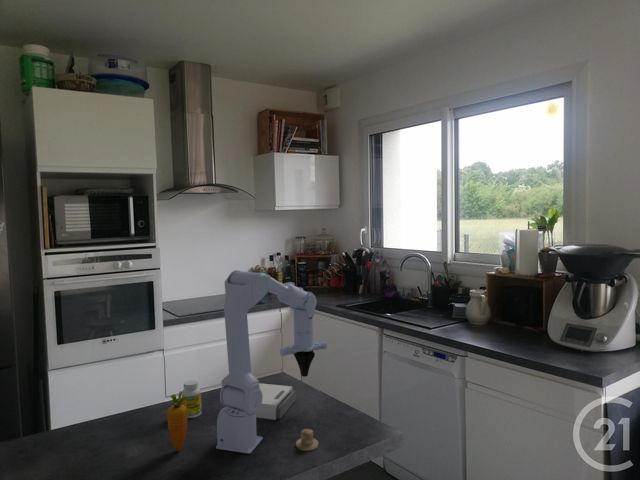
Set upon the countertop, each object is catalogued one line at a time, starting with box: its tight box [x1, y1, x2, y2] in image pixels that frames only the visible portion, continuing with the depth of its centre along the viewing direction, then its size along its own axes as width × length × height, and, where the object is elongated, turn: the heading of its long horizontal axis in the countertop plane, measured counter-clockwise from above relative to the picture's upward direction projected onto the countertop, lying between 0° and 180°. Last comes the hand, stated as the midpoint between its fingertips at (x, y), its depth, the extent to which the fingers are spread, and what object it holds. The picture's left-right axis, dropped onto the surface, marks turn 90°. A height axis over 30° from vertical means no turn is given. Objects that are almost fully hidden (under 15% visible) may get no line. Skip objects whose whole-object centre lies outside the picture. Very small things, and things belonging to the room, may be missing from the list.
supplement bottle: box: [181, 379, 203, 419], centre depth 138 cm, size 5×5×10 cm
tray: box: [277, 389, 297, 420], centre depth 142 cm, size 13×13×3 cm
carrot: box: [166, 390, 189, 452], centre depth 117 cm, size 5×5×15 cm
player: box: [256, 382, 293, 421], centre depth 142 cm, size 14×14×4 cm
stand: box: [295, 428, 319, 452], centre depth 119 cm, size 6×6×4 cm
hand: (304, 375), depth 142 cm, fingers closed
